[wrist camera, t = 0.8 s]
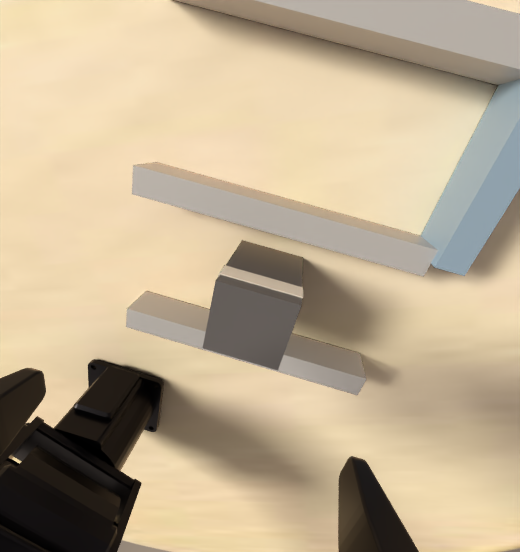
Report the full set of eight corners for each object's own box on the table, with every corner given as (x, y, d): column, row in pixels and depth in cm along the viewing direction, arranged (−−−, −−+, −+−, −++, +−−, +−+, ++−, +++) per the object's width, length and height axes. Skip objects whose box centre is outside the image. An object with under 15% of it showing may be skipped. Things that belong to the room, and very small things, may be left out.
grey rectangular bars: (371, 374, 21) (381, 408, 19) (144, 307, 22) (122, 331, 19) (552, 54, 13) (618, 30, 10) (171, -44, 13) (137, -92, 10)
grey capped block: (286, 309, 20) (278, 371, 15) (229, 293, 20) (201, 348, 15) (303, 256, 18) (303, 304, 13) (241, 239, 18) (214, 279, 13)
